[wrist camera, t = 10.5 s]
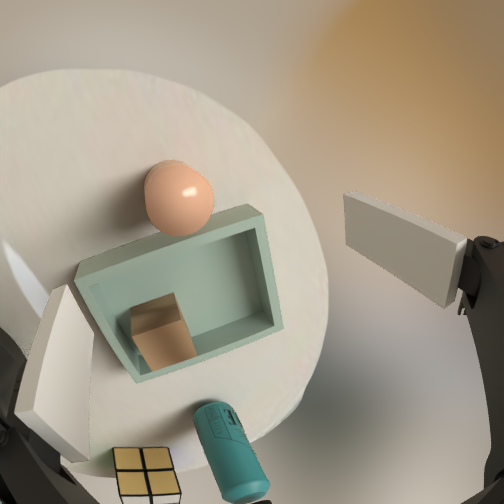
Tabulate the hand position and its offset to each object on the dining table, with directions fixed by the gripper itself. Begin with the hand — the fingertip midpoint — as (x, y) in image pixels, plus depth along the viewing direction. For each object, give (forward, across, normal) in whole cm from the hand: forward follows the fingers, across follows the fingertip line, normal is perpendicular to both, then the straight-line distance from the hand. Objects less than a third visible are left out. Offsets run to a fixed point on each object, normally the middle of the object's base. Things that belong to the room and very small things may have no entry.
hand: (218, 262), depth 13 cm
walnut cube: (+16, -6, -13) cm, 21 cm away
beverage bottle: (+17, -5, -32) cm, 36 cm away
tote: (+17, -2, -11) cm, 20 cm away
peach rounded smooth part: (+17, 0, 0) cm, 17 cm away
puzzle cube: (+17, -22, -42) cm, 50 cm away
